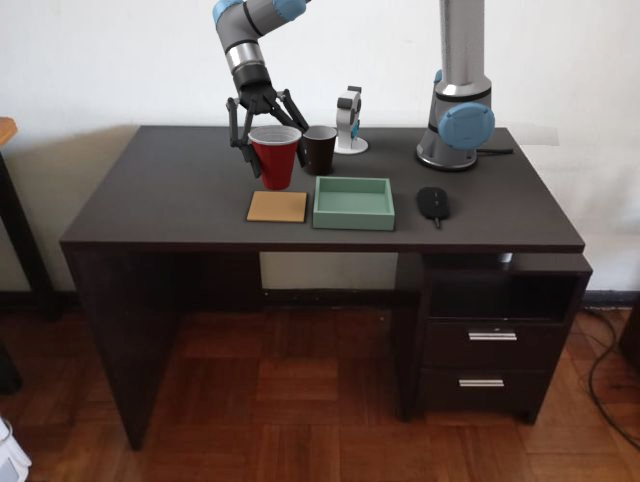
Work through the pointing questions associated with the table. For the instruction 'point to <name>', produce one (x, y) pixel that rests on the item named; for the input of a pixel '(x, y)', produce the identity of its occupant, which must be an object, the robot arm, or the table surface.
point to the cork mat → (277, 207)
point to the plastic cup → (275, 154)
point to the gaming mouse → (433, 203)
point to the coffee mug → (320, 149)
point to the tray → (353, 203)
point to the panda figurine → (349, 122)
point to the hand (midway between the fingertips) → (282, 170)
